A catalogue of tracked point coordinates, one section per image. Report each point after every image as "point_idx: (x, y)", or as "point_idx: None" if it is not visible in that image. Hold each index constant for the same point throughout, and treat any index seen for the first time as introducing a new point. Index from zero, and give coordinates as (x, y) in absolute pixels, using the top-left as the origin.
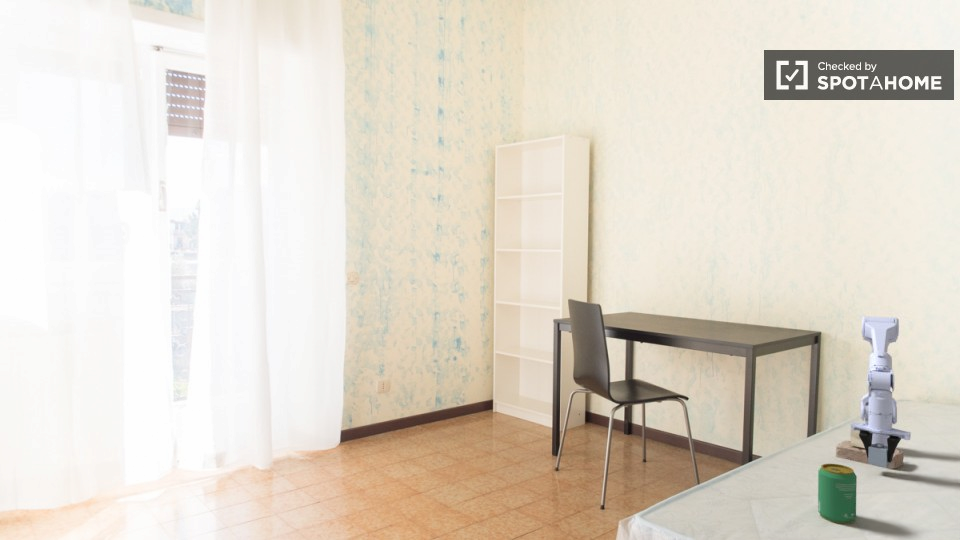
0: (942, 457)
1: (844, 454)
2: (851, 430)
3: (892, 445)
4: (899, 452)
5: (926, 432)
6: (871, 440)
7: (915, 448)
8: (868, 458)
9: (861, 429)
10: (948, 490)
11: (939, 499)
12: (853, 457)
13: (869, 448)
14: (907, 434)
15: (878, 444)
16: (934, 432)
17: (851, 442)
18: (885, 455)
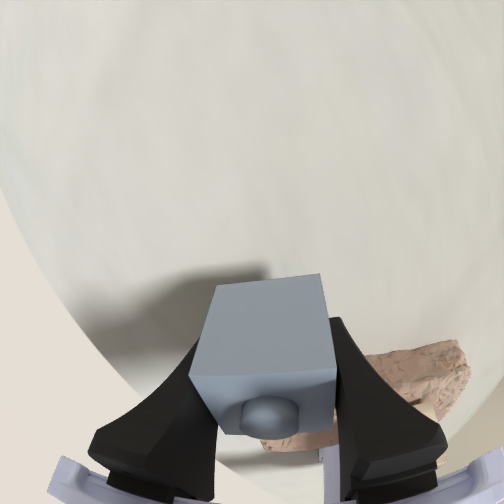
0: (234, 463)
1: (438, 356)
2: (443, 457)
3: (135, 417)
4: (266, 442)
5: (307, 495)
6: (340, 445)
7: (293, 471)
8: (324, 297)
9: (423, 497)
10: (56, 286)
11: (13, 172)
12: (408, 359)
13: (327, 359)
14: (54, 489)
15: (274, 425)
16: (299, 497)
17: (430, 412)
18: (205, 342)
